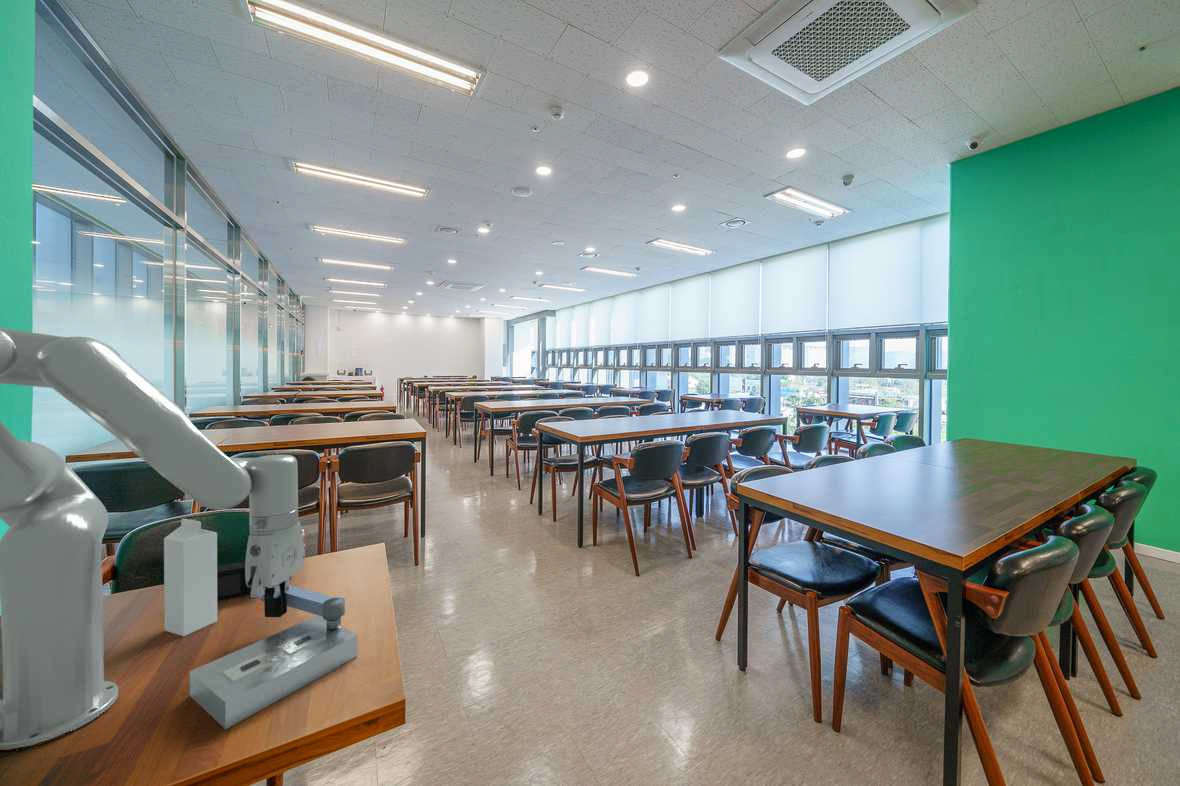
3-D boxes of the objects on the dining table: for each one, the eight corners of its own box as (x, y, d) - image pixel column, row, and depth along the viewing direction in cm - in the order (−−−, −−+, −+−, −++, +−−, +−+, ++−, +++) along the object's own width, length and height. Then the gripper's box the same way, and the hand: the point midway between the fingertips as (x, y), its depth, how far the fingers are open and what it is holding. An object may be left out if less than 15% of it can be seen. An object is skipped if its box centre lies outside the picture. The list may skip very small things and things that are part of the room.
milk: (198, 616, 93) (198, 514, 93) (217, 621, 91) (218, 517, 91) (163, 631, 88) (163, 522, 87) (183, 637, 86) (183, 526, 85)
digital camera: (210, 605, 98) (210, 574, 98) (215, 594, 103) (215, 565, 102) (267, 594, 103) (267, 565, 103) (270, 585, 108) (270, 557, 108)
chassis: (225, 729, 64) (225, 687, 63) (189, 695, 70) (189, 658, 70) (358, 655, 81) (358, 622, 81) (320, 634, 88) (320, 603, 87)
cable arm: (349, 613, 84) (349, 598, 84) (331, 622, 81) (332, 607, 80) (278, 592, 91) (278, 579, 91) (259, 600, 88) (259, 587, 88)
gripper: (264, 534, 75) (265, 638, 76) (319, 509, 90) (319, 595, 91) (221, 534, 76) (223, 637, 76) (283, 508, 90) (284, 595, 91)
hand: (275, 614), depth 84 cm, fingers closed
